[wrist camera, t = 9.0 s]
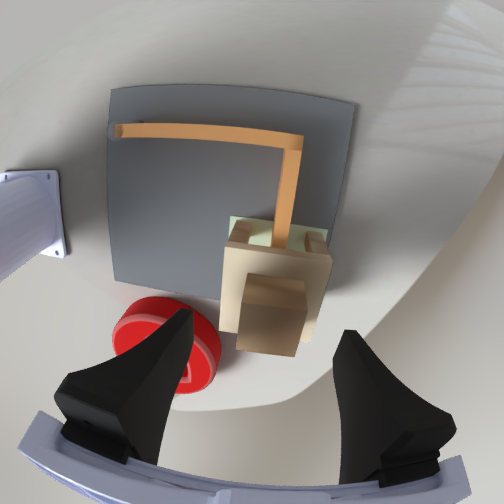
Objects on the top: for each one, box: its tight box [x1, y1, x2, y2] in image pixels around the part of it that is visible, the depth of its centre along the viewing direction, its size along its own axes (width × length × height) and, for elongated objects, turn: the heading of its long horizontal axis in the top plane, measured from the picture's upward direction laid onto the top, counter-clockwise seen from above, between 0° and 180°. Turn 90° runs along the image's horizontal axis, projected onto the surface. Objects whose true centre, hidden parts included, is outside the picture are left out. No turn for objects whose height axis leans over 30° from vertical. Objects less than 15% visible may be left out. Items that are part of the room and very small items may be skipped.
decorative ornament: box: [112, 297, 221, 394], centre depth 23 cm, size 10×10×3 cm
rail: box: [107, 120, 304, 249], centre depth 17 cm, size 11×11×3 cm
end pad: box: [228, 216, 328, 252], centre depth 19 cm, size 6×6×1 cm
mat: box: [107, 85, 355, 300], centre depth 18 cm, size 16×15×1 cm
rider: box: [219, 220, 333, 357], centre depth 16 cm, size 6×6×7 cm
